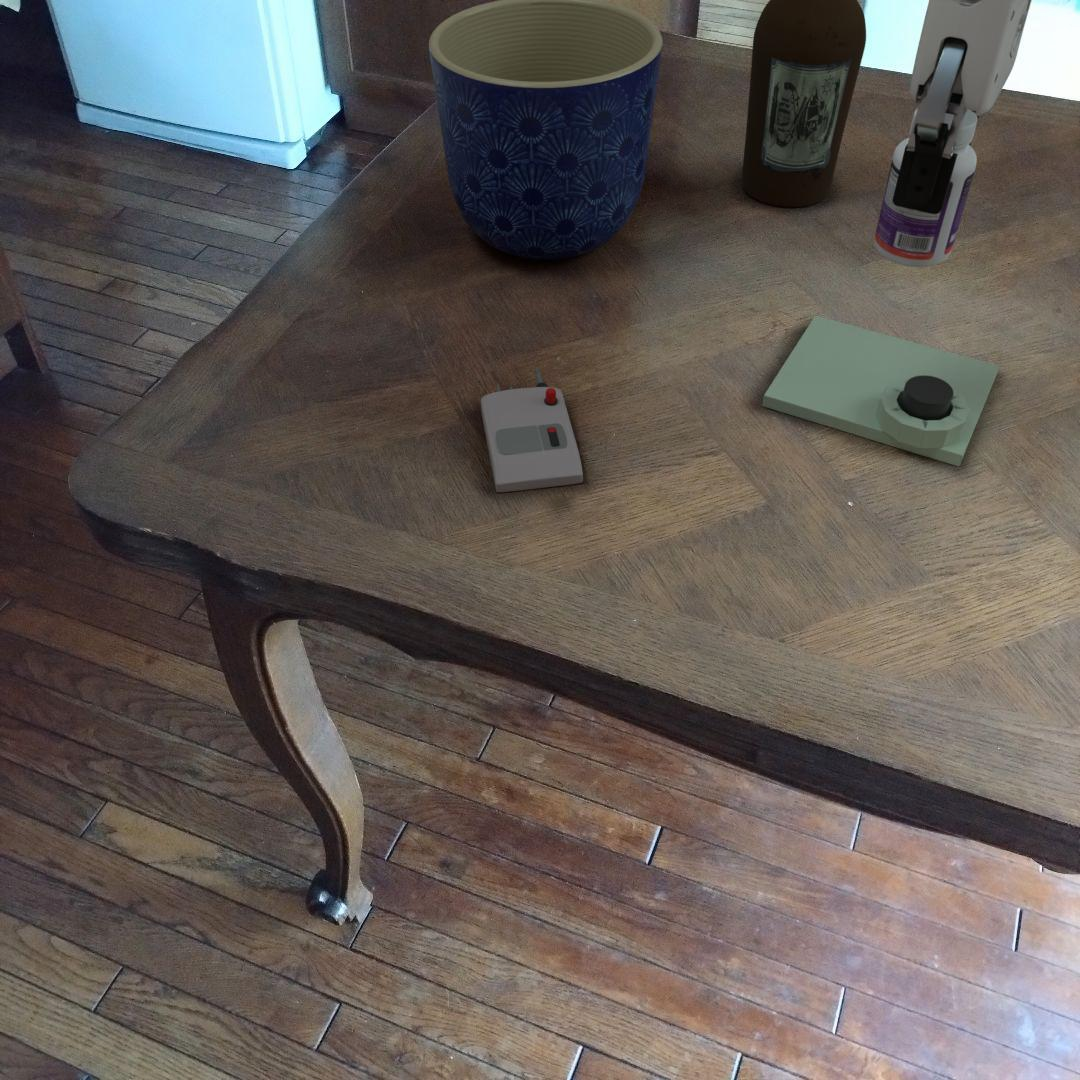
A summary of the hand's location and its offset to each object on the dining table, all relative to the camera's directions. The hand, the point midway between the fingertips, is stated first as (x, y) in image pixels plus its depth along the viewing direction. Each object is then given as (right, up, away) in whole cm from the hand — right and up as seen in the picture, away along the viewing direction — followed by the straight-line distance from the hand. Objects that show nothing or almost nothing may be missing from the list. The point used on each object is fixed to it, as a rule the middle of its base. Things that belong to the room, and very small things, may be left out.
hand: (928, 185), depth 72 cm
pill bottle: (0, -4, +4) cm, 5 cm away
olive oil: (0, +13, +41) cm, 43 cm away
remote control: (-27, -16, +12) cm, 34 cm away
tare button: (+3, -14, +10) cm, 18 cm away
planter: (-26, +7, +35) cm, 44 cm away
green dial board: (+2, -12, +16) cm, 20 cm away
